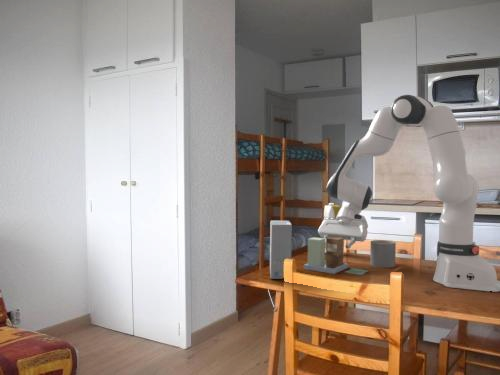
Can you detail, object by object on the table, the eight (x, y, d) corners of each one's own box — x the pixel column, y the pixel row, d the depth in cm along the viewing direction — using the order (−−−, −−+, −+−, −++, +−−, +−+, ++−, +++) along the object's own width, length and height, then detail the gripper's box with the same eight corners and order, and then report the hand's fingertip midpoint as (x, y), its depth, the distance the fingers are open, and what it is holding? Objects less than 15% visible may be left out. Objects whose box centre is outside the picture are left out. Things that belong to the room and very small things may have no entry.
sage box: (324, 268, 177) (325, 238, 176) (318, 270, 173) (319, 240, 172) (313, 266, 180) (313, 237, 179) (307, 269, 176) (307, 238, 175)
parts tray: (347, 268, 179) (348, 263, 179) (334, 275, 168) (334, 269, 168) (318, 264, 186) (318, 259, 186) (303, 270, 176) (303, 264, 176)
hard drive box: (291, 279, 161) (292, 225, 160) (270, 279, 161) (270, 224, 160) (288, 269, 176) (289, 219, 175) (269, 269, 176) (269, 219, 176)
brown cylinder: (342, 267, 178) (343, 238, 178) (337, 270, 174) (338, 239, 174) (331, 266, 181) (331, 236, 181) (325, 268, 177) (326, 238, 177)
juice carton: (321, 252, 213) (322, 202, 212) (336, 251, 215) (337, 202, 214) (330, 256, 204) (330, 204, 203) (345, 255, 206) (346, 203, 205)
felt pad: (369, 272, 173) (369, 270, 173) (361, 276, 167) (361, 274, 167) (352, 269, 177) (352, 268, 177) (344, 273, 171) (344, 272, 171)
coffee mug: (384, 269, 178) (385, 244, 177) (365, 265, 186) (365, 241, 185) (405, 265, 185) (405, 241, 185) (385, 261, 193) (386, 238, 193)
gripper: (322, 213, 191) (311, 238, 183) (368, 216, 179) (358, 244, 171) (326, 222, 195) (315, 248, 187) (371, 226, 183) (362, 254, 175)
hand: (336, 246), depth 179 cm, fingers open, 8 cm apart
